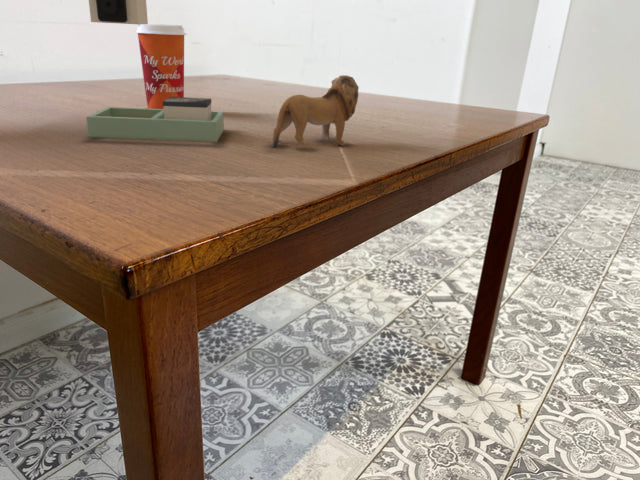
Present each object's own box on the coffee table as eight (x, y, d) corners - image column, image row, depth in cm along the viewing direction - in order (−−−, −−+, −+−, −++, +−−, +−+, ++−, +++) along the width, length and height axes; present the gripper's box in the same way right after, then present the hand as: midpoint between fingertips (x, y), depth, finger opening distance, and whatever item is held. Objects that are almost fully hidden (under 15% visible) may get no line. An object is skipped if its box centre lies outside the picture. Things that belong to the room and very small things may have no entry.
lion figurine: (337, 136, 77) (341, 73, 74) (364, 142, 74) (370, 76, 70) (259, 147, 68) (259, 75, 64) (286, 155, 64) (288, 80, 61)
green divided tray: (216, 145, 67) (216, 121, 66) (89, 141, 66) (86, 116, 65) (224, 133, 75) (223, 111, 74) (109, 128, 74) (107, 106, 73)
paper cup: (145, 119, 82) (137, 23, 77) (139, 111, 89) (132, 22, 83) (194, 118, 85) (191, 26, 80) (185, 110, 92) (181, 25, 86)
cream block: (90, 21, 61) (85, -21, 59) (103, 22, 65) (98, -18, 64) (138, 24, 61) (135, -18, 60) (148, 24, 66) (145, -16, 64)
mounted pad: (164, 136, 68) (162, 101, 67) (171, 129, 73) (169, 96, 71) (207, 137, 69) (206, 103, 67) (212, 131, 73) (211, 98, 71)
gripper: (94, -141, 64) (110, 20, 71) (31, -194, 48) (59, 19, 55) (156, -136, 64) (166, 23, 71) (114, -187, 49) (131, 23, 56)
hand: (119, 20), depth 63 cm, fingers closed on cream block, 4 cm apart
